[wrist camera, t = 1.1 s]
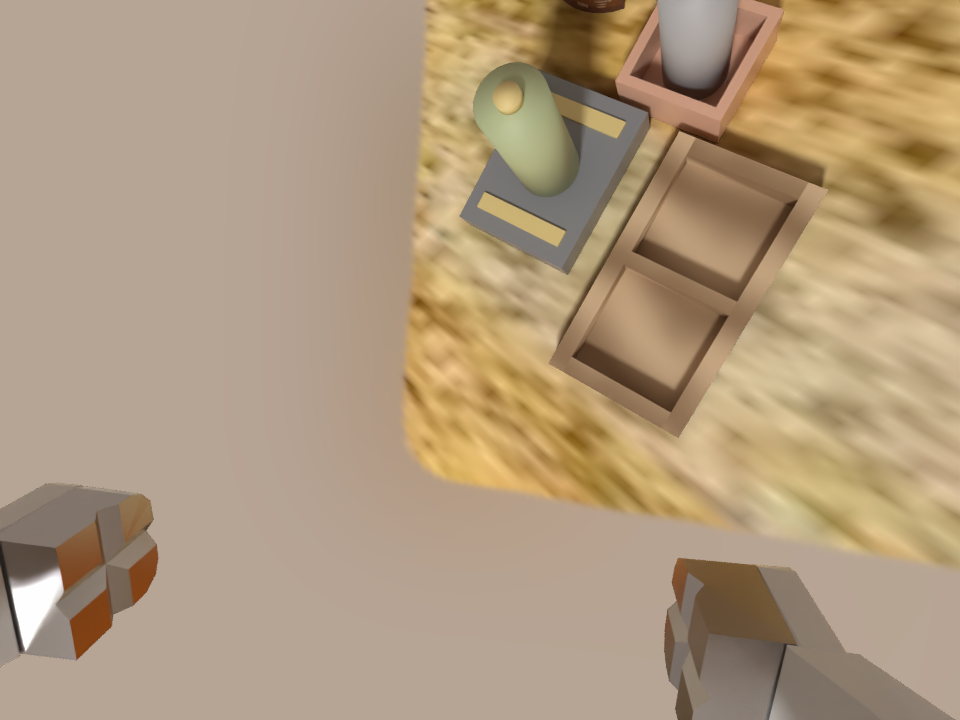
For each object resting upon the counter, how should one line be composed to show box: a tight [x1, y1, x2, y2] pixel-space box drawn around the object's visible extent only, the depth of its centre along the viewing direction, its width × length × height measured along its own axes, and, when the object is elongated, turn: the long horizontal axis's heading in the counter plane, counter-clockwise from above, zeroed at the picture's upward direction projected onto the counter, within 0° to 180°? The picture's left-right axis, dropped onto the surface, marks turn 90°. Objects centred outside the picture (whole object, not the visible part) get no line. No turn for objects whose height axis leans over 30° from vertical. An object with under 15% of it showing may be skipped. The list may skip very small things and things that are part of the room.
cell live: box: [473, 62, 580, 197], centre depth 37 cm, size 4×4×11 cm
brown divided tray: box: [549, 131, 828, 437], centre depth 40 cm, size 18×10×2 cm, turn 149°
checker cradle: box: [460, 70, 650, 275], centre depth 43 cm, size 12×9×3 cm
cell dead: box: [657, 0, 739, 100], centre depth 36 cm, size 4×4×11 cm
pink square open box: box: [615, 0, 784, 143], centre depth 40 cm, size 8×8×4 cm
